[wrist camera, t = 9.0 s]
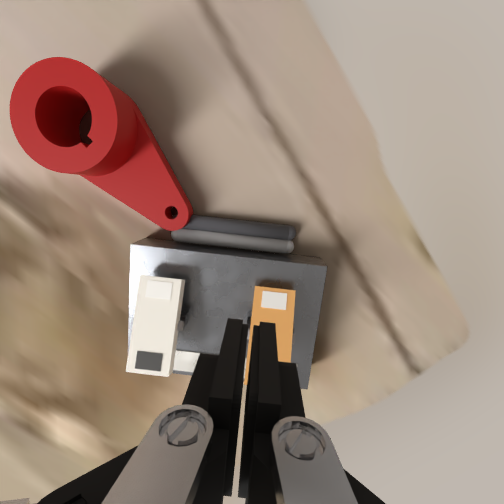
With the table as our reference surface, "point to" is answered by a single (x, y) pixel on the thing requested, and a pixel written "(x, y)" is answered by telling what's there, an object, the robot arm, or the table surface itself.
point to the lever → (95, 138)
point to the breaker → (156, 326)
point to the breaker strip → (229, 294)
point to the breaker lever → (274, 319)
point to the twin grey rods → (236, 234)
